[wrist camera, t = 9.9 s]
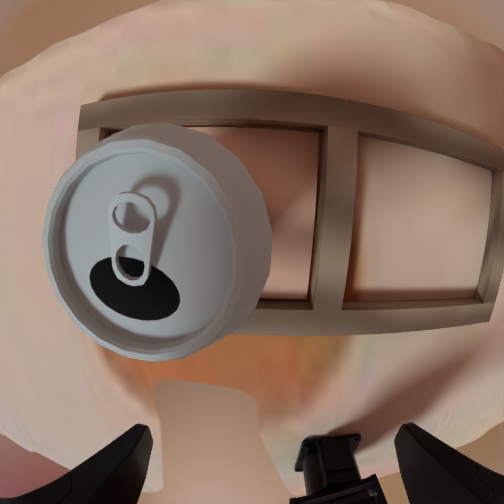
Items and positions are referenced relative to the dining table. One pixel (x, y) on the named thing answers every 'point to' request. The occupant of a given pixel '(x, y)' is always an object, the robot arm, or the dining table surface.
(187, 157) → the can
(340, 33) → the dining table surface
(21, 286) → the dining table surface
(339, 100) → the ladder rack
